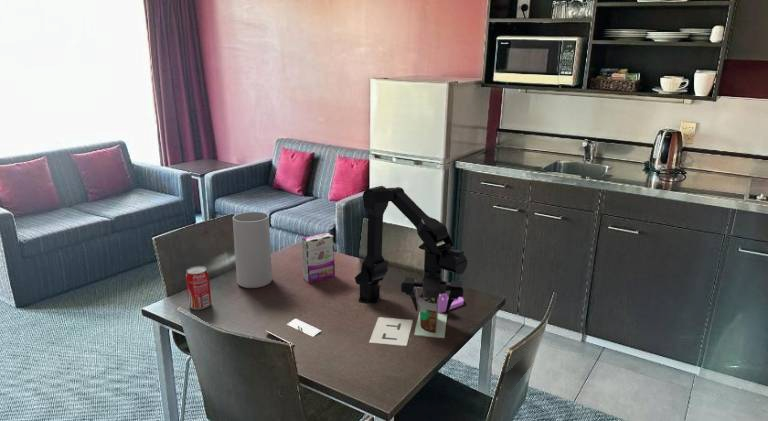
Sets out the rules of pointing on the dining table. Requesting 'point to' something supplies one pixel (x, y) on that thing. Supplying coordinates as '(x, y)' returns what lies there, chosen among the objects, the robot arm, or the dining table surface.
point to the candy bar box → (318, 257)
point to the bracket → (444, 299)
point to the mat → (439, 328)
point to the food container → (428, 312)
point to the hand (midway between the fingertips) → (431, 312)
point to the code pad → (391, 331)
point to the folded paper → (301, 328)
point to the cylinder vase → (252, 249)
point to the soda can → (198, 287)
